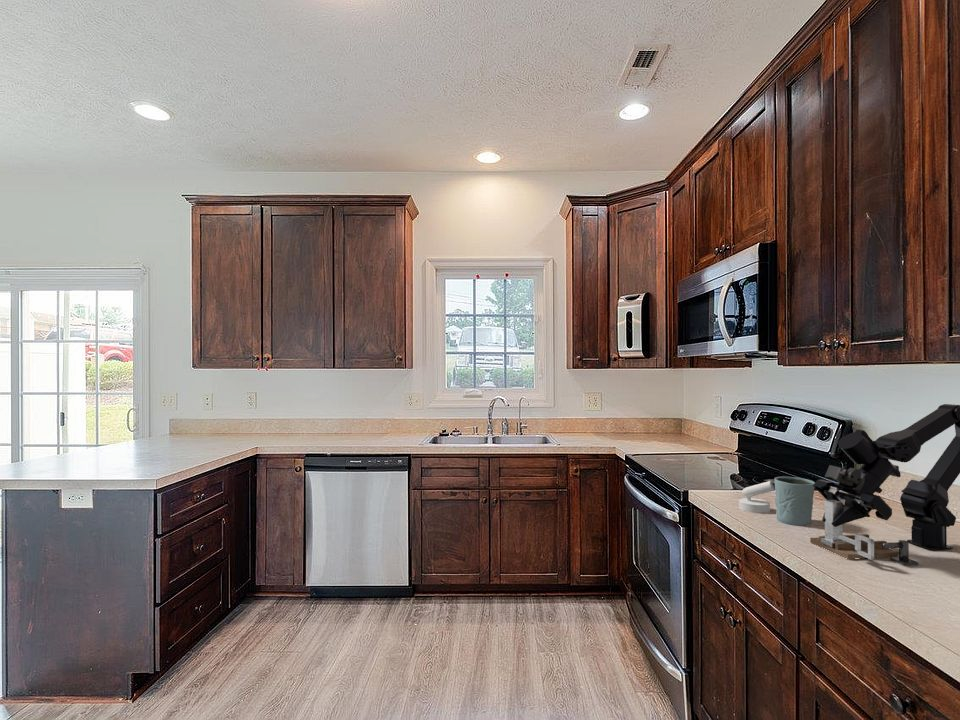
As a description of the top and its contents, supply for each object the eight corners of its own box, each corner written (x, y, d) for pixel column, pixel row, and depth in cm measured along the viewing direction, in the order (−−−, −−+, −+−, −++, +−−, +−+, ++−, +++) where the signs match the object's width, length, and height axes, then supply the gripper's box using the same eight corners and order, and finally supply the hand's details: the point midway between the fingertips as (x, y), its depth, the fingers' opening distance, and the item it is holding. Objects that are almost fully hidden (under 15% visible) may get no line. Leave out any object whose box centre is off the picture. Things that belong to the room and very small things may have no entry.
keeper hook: (903, 559, 124) (903, 538, 124) (918, 564, 121) (917, 543, 121) (876, 560, 124) (876, 539, 124) (890, 566, 120) (889, 544, 120)
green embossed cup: (776, 514, 161) (776, 475, 161) (816, 520, 155) (816, 479, 155) (772, 522, 153) (772, 481, 153) (814, 529, 147) (813, 485, 147)
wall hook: (771, 484, 160) (735, 479, 166) (771, 515, 160) (735, 510, 166) (777, 479, 167) (742, 474, 173) (777, 509, 167) (742, 504, 173)
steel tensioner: (835, 541, 132) (835, 499, 132) (880, 560, 119) (880, 513, 119) (820, 542, 132) (820, 499, 132) (864, 561, 119) (864, 514, 119)
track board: (856, 540, 137) (856, 530, 137) (898, 557, 125) (898, 546, 125) (810, 542, 136) (810, 532, 136) (847, 559, 124) (847, 548, 124)
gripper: (819, 448, 140) (780, 491, 139) (880, 461, 121) (836, 511, 120) (847, 477, 141) (808, 521, 140) (912, 495, 122) (868, 545, 121)
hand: (828, 523), depth 130 cm, fingers closed on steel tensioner, 3 cm apart
